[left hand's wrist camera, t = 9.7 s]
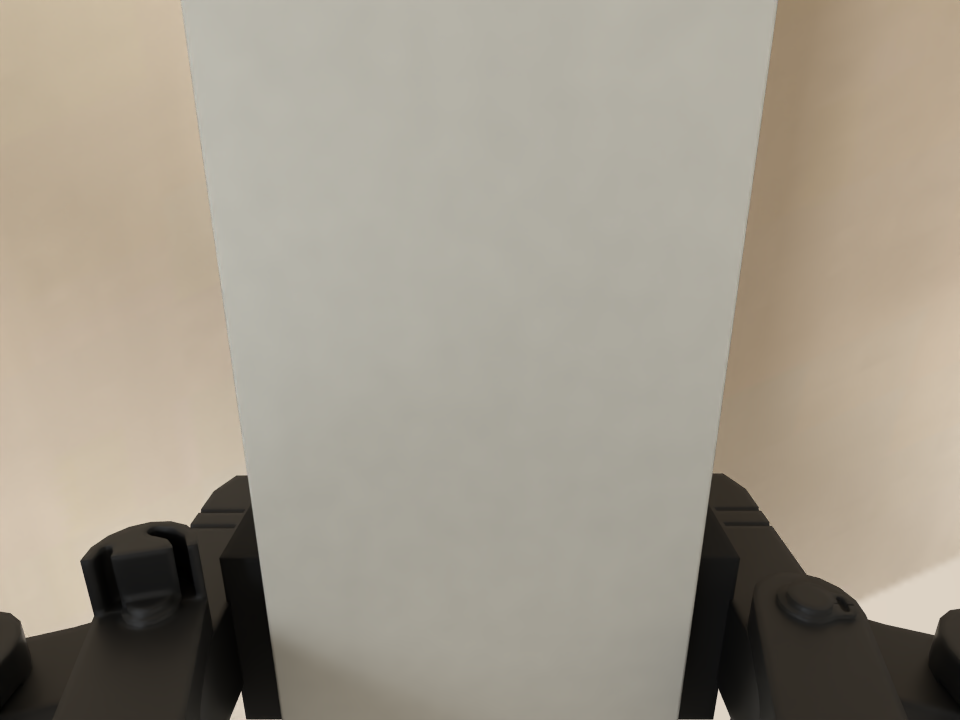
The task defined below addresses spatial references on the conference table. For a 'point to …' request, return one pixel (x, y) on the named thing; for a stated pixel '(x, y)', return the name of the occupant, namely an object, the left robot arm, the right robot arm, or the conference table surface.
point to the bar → (479, 335)
